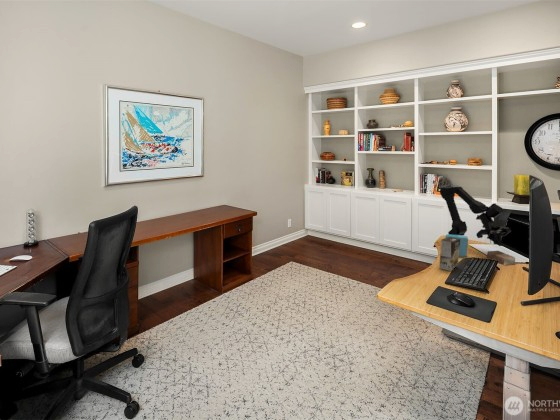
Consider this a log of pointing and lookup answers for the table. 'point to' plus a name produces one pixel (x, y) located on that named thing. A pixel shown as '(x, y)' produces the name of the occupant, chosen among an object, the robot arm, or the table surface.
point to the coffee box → (449, 253)
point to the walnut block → (501, 257)
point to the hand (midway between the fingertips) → (500, 245)
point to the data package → (461, 244)
